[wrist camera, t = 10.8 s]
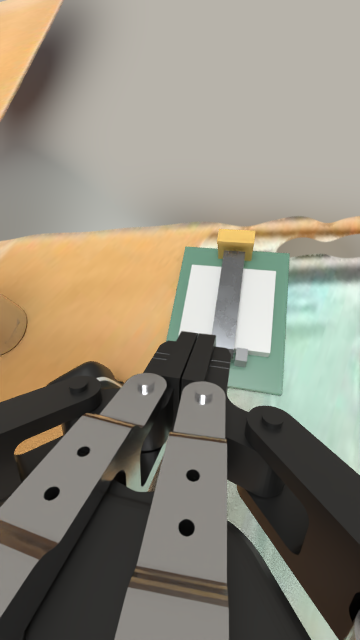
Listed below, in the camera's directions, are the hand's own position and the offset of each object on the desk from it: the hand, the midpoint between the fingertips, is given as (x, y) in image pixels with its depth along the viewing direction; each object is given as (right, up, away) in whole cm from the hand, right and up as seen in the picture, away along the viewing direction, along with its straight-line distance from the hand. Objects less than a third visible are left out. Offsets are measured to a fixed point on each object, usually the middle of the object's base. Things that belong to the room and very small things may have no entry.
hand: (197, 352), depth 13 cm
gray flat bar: (+6, +4, +28) cm, 28 cm away
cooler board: (+6, +2, +31) cm, 31 cm away
